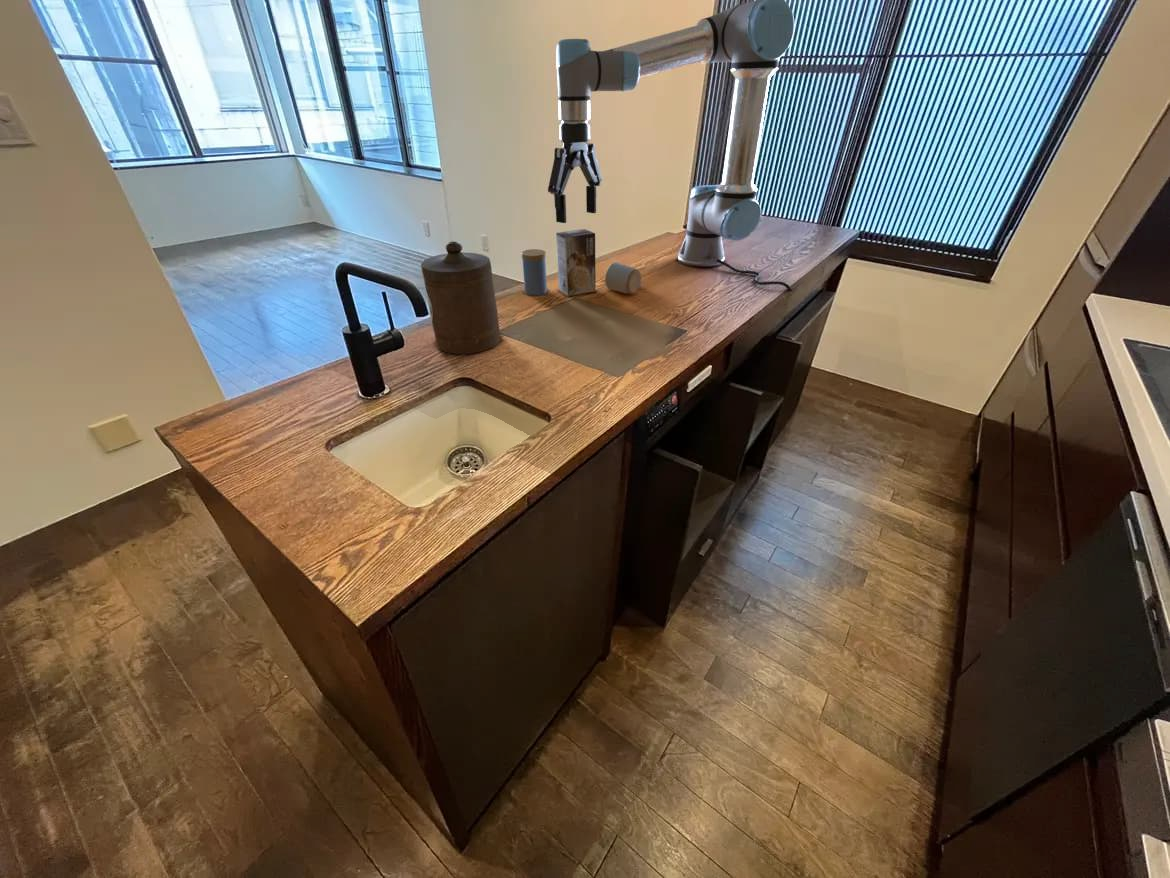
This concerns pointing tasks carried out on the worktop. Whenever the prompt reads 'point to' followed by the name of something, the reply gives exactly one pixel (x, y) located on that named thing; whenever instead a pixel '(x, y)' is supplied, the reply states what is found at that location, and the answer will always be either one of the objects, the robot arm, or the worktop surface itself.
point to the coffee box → (576, 262)
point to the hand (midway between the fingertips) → (576, 217)
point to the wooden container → (461, 300)
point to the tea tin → (534, 271)
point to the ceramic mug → (623, 278)
